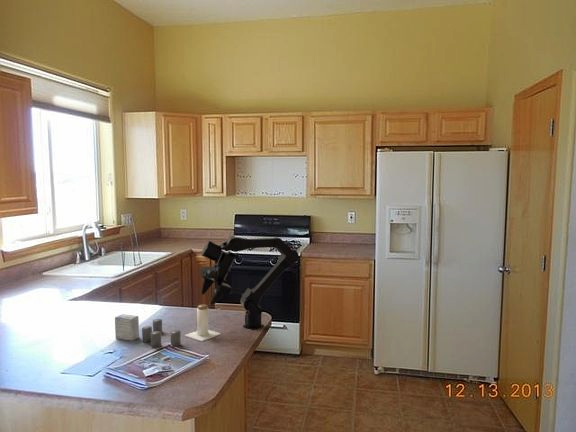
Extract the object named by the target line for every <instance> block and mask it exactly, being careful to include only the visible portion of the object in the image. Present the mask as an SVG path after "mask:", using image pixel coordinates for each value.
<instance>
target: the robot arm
mask: <svg viewBox="0 0 576 432" xmlns="http://www.w3.org/2000/svg"><path fill="white" fill-rule="evenodd" d="M257 248H258V249H262V248H263V249H264V248H265V249H266V248H276V250H277V251H278V252H279V253H280V254H279V257H278V259H277V262H276V263H275V265H273V267H272V268H271V269H270V270H269V271H268V272H267V273H266V274H265V275H264V277H263V278H262V279H261V280H260V281H259V283H257V284H256V286H255V287H253V288H252V289H250V288H249V287H247V289H246V290H245V291H244V292H243V294H241V297H240V304H241V306H242V307H243V308H244V310H246V311H245V315H244V324H243V325H242V327H243V328H246V329H250V330H257V329H259V328H262V327H264V326H265V324H262V313H263V308H262V307H261V306H260V305H259V304H260V303H261V300H262V298H263V295H264V294H265V293H266V292H267V291H268V290H269V288H270V287H271V286H272V285H273V284H274V283H275V281H277V280H278V278H279V277H280V276H281V275H282V274H283V273H284V272H285V271H286V270H287V269H289V268H291V267H292V266H293V265H294V264H296V263H298V261H299V259H300V255H299V253H298V251H297V250H294V249H293V248H291V247H290V246H289V245H288V244H286V243H285V242H284V241H283V239H282V238H281V237H277V236H274V237H261V238H259V237H258V238H255V237H254V238H247V237H241V236H230V237H228V238H227V239H226V241H224V242H223V243H221V244H216V243H214V242H213V241H211V240H208V242H207V243H206V244H205V246H203V248H202V250H201V254H200V256H201V257H203V258H206V259H209V260H210V261H213V262H215V261H217V260H218V261H217V262H216V263H214V264H213V265H212V266H200V268H199V274H198V276H199V277H201V279H202V287H201V291H200V294H201V295H205V294H206V293H207V292H208V290H209V289H210V288H211V287H212V285H213V284H214V283H215V286H214V287H213V290H214V294H213V296H212V298H211V300H210V305H215V304H216V303H217V302H219V301H220V300H221V299H222V298H224V297H225V296H229V295H231V294H232V292H233V287H232V286H231V285H229V284H228V283H226V282H227V280H226V277H227V276H228V274H229V275H230V274H231V273H232V272H231V267H233V266H232V265H233V264H234V261H235V260H238V261H241V257H240V254H239V253H238V252H241V251H245V250H249V249H257Z"/></svg>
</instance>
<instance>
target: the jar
mask: <svg viewBox="0 0 576 432" xmlns="http://www.w3.org/2000/svg"><path fill="white" fill-rule="evenodd" d="M196 323H197V324H196V326H197V327H196V331H197V335H198V336H206V335H208V334H209V333H208V330H209V305H207V304H199V305H197V308H196Z"/></svg>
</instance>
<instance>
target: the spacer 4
mask: <svg viewBox="0 0 576 432" xmlns="http://www.w3.org/2000/svg"><path fill="white" fill-rule="evenodd" d="M181 341H182V338H181V330H179V329H178V330H177V329H175V330H171V331H170V346H171V345H172V346H174V347H173V348H177V347H180V346H181V343H182V342H181ZM172 346H171V347H172Z"/></svg>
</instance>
